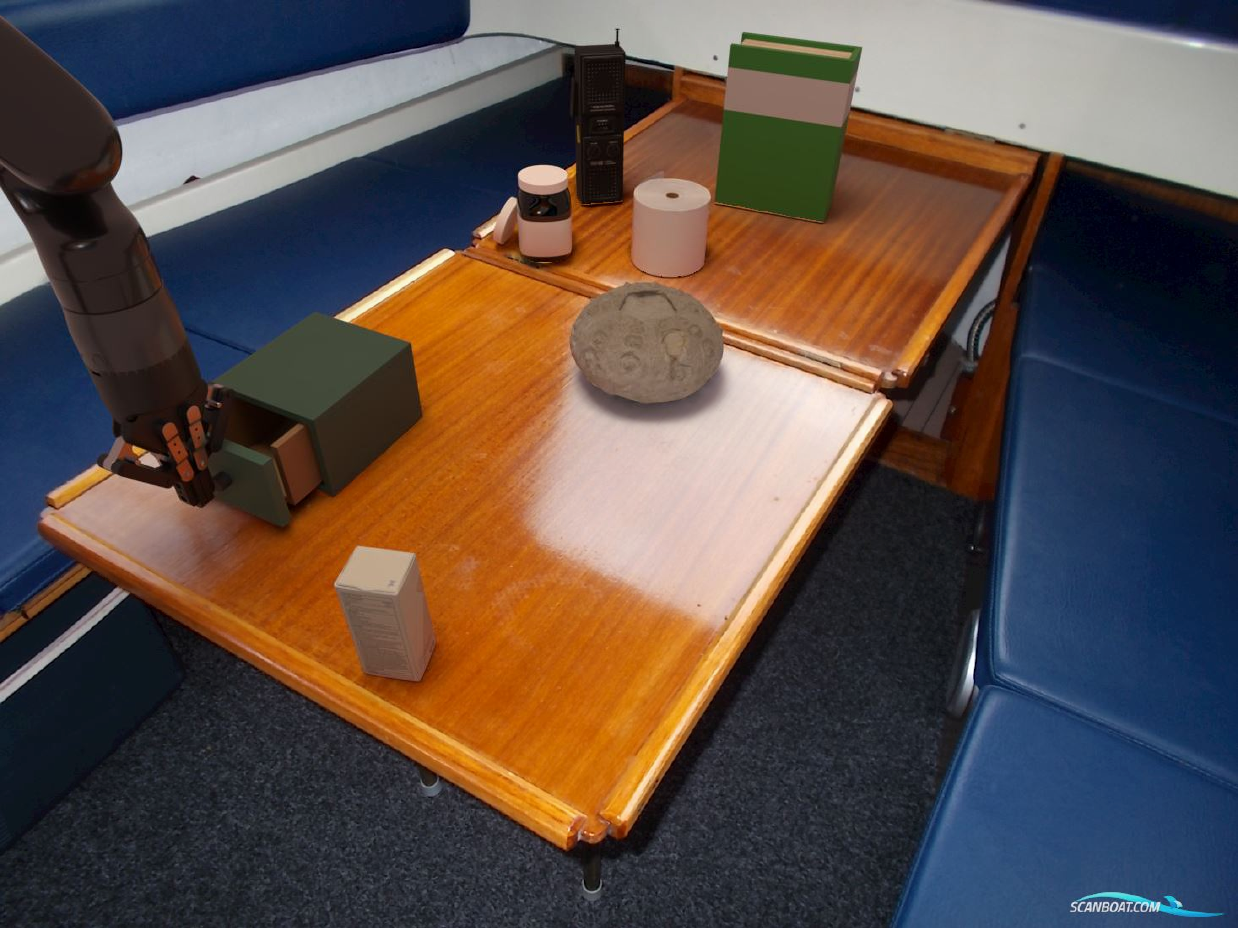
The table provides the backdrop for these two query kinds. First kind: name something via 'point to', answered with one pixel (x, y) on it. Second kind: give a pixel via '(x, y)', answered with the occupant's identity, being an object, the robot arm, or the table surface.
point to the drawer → (264, 463)
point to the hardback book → (785, 124)
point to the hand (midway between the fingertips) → (200, 500)
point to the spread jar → (539, 215)
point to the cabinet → (334, 391)
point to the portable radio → (599, 121)
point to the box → (387, 612)
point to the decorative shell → (647, 342)
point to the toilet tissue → (669, 226)
